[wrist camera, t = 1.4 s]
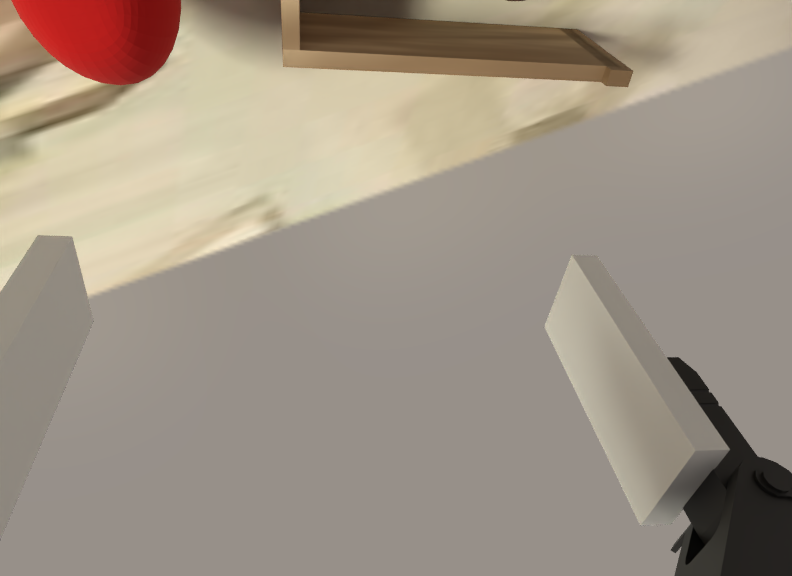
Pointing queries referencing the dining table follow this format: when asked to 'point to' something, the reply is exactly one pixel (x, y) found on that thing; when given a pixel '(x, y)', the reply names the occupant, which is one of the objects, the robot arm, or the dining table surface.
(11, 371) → the robot arm
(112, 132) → the dining table surface
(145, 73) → the red heart shape
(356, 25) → the box
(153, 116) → the dining table surface
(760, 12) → the dining table surface
